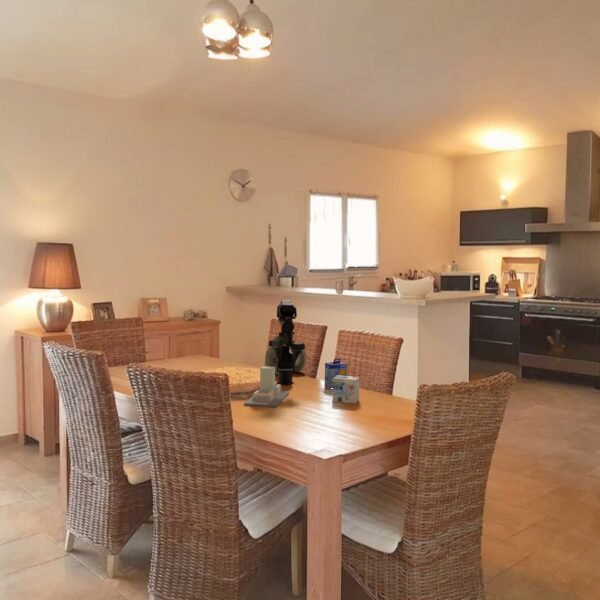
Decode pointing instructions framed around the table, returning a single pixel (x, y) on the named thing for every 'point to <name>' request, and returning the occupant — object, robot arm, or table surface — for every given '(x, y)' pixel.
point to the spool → (272, 359)
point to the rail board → (273, 404)
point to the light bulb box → (345, 389)
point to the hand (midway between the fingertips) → (286, 362)
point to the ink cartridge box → (334, 371)
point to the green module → (267, 379)
